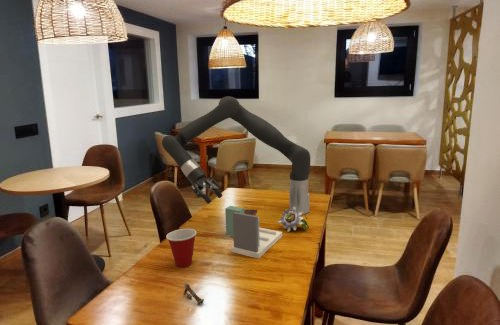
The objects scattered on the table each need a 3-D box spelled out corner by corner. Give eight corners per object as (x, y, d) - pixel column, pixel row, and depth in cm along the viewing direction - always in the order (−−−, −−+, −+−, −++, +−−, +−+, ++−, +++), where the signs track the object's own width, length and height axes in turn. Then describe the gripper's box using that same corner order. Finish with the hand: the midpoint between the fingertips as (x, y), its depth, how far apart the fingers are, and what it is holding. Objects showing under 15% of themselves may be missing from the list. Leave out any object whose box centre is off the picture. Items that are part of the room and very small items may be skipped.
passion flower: (289, 242, 160) (273, 221, 159) (295, 229, 169) (280, 209, 168) (309, 233, 154) (292, 211, 153) (314, 220, 164) (299, 199, 162)
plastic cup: (181, 254, 139) (180, 225, 137) (204, 260, 134) (202, 230, 131) (161, 266, 130) (159, 235, 128) (184, 274, 125) (182, 241, 122)
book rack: (257, 231, 159) (256, 196, 156) (282, 236, 154) (282, 200, 150) (231, 251, 141) (230, 213, 137) (258, 258, 135) (258, 218, 131)
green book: (230, 231, 160) (230, 205, 157) (244, 234, 157) (244, 208, 154) (226, 234, 157) (225, 208, 154) (240, 237, 153) (239, 211, 151)
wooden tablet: (241, 206, 188) (260, 206, 185) (242, 210, 189) (260, 210, 186) (223, 226, 164) (244, 226, 161) (224, 231, 164) (245, 230, 161)
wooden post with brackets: (184, 290, 113) (187, 280, 111) (200, 308, 109) (204, 298, 107) (180, 293, 112) (183, 283, 110) (196, 311, 108) (199, 301, 106)
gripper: (187, 170, 153) (211, 199, 150) (207, 163, 165) (229, 190, 162) (178, 180, 157) (201, 209, 154) (198, 173, 169) (219, 199, 166)
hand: (215, 199), depth 158 cm, fingers open, 8 cm apart
